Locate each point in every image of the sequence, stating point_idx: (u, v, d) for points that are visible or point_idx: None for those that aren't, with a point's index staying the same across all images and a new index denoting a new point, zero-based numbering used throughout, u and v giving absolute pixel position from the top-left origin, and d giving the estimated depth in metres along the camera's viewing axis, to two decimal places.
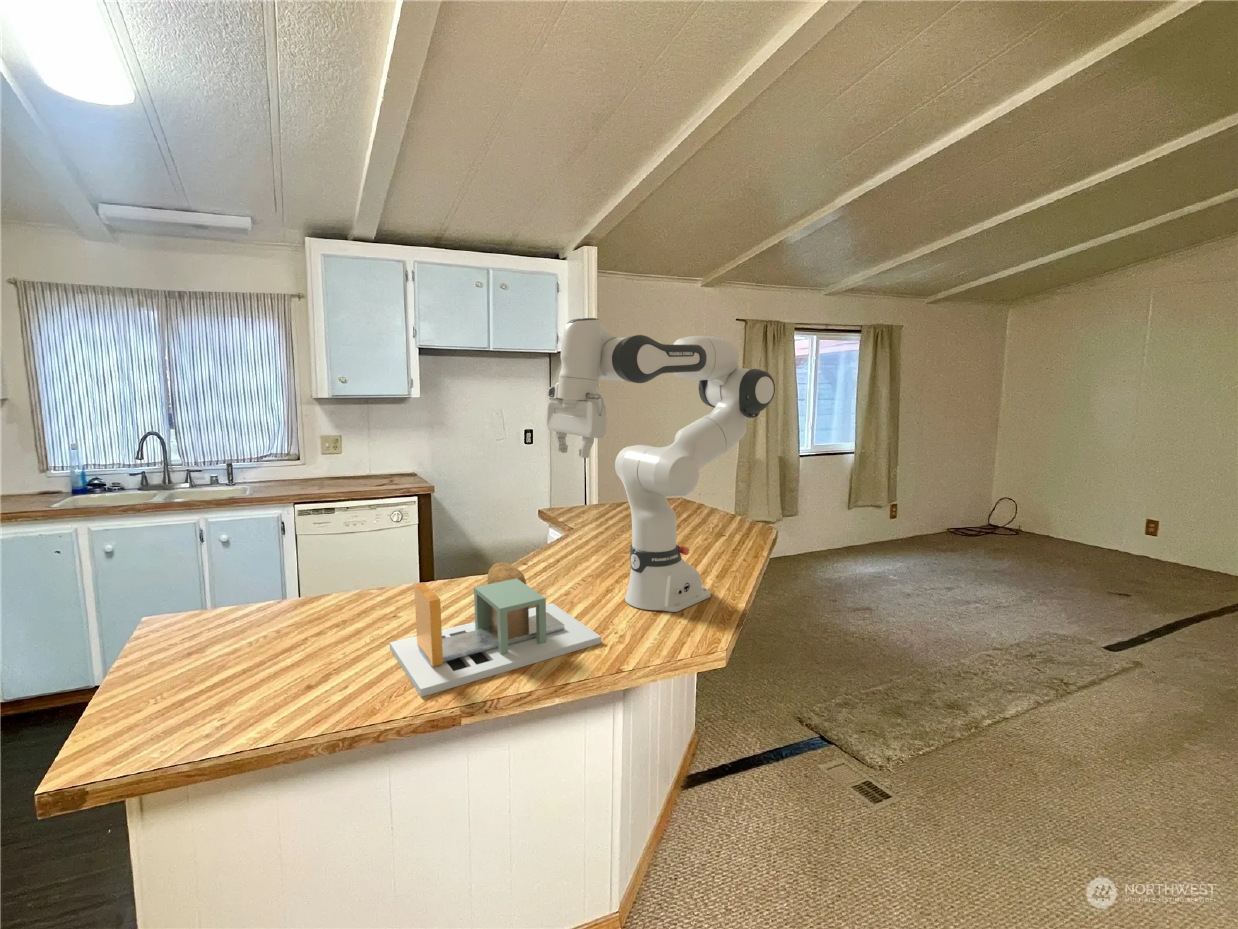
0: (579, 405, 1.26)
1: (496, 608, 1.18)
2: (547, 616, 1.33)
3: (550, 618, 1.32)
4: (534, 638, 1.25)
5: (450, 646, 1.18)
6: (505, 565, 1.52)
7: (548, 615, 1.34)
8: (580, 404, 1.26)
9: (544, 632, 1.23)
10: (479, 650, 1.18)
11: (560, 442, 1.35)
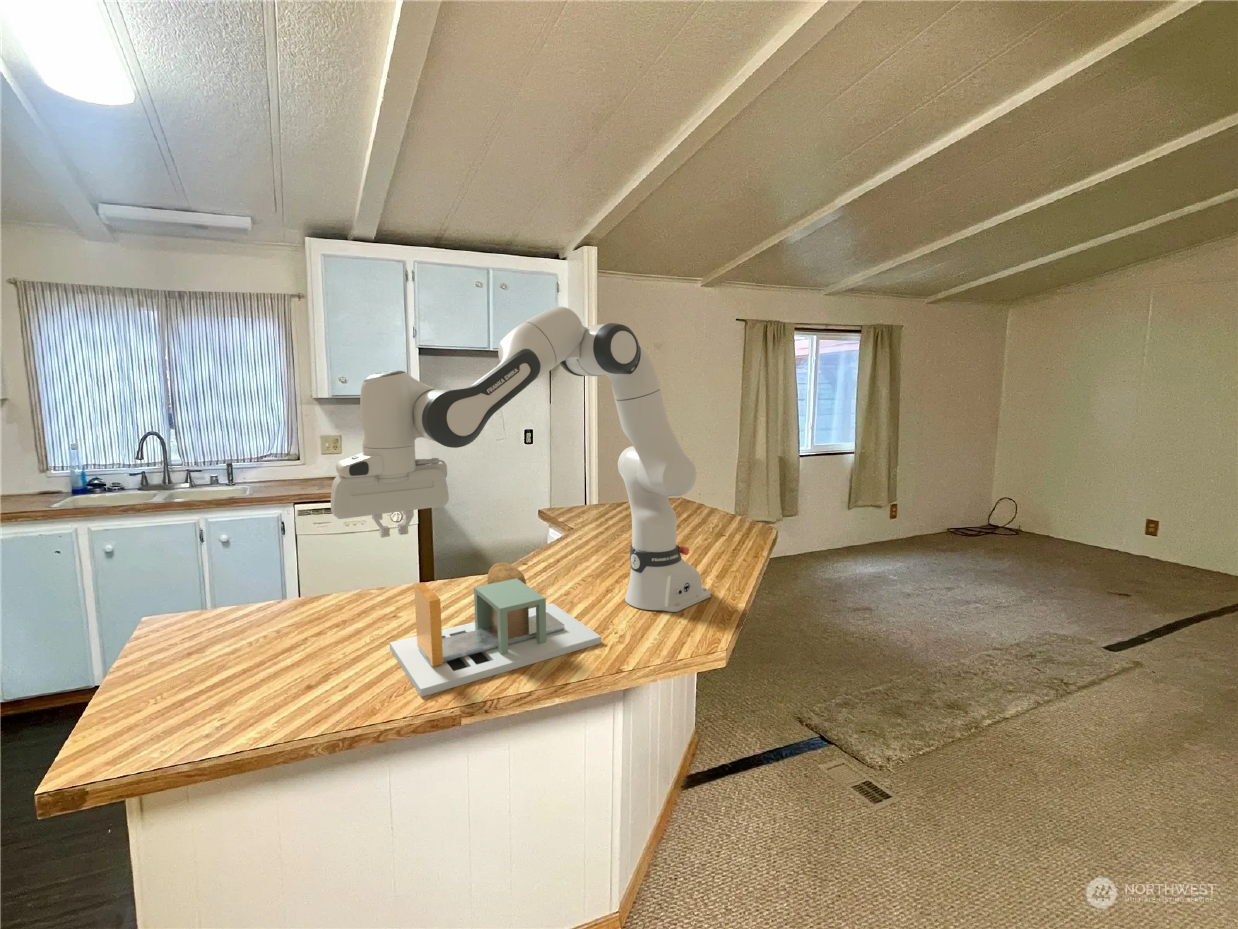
0: (417, 475, 1.09)
1: (496, 608, 1.18)
2: (547, 616, 1.33)
3: (550, 618, 1.32)
4: (534, 638, 1.25)
5: (450, 646, 1.18)
6: (505, 565, 1.52)
7: (548, 615, 1.34)
8: (418, 474, 1.09)
9: (544, 632, 1.23)
10: (479, 650, 1.18)
11: (382, 525, 1.08)
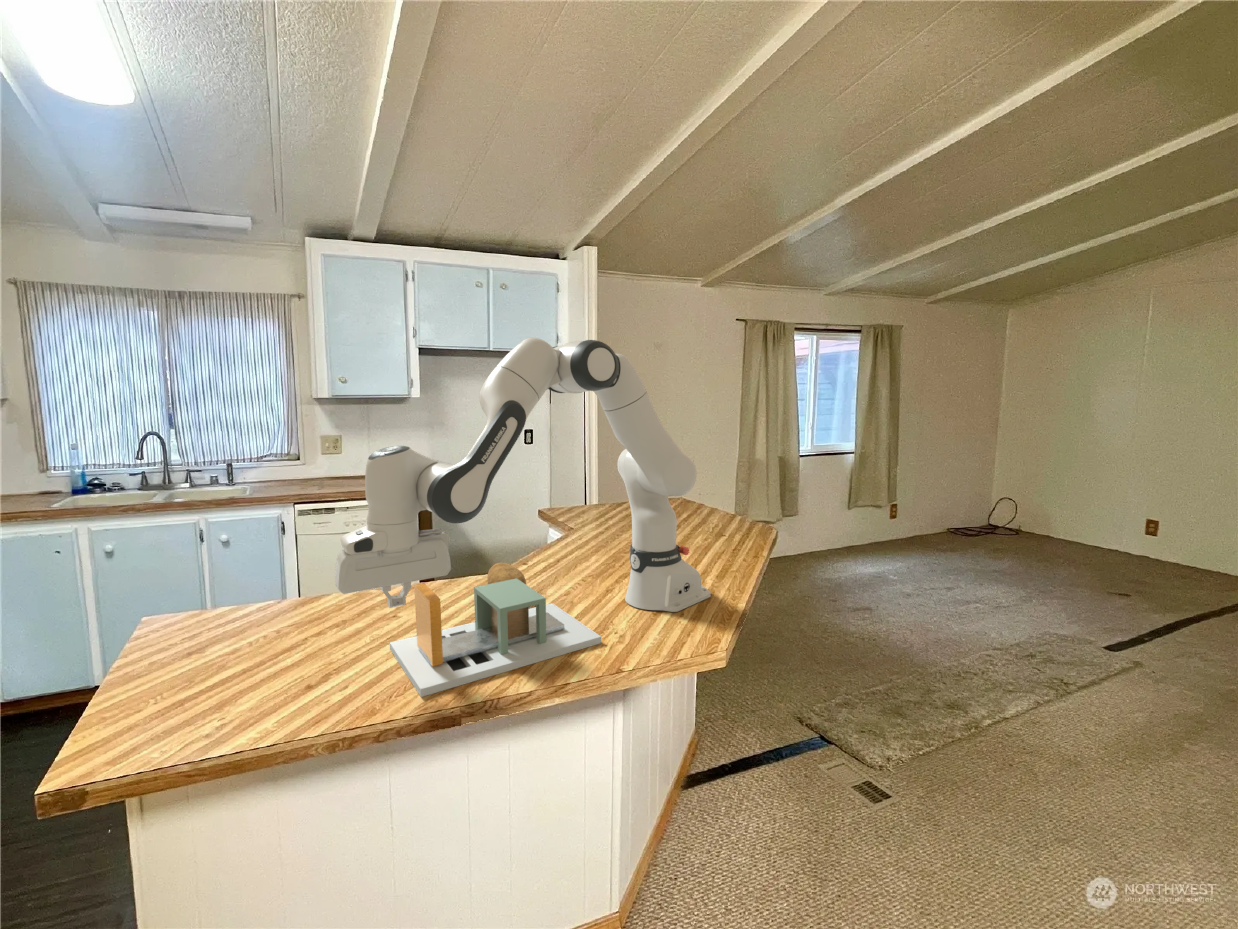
0: (420, 547, 1.11)
1: (496, 608, 1.18)
2: (547, 616, 1.33)
3: (550, 618, 1.32)
4: (534, 638, 1.25)
5: (450, 646, 1.18)
6: (505, 565, 1.52)
7: (548, 615, 1.34)
8: (421, 546, 1.11)
9: (544, 632, 1.23)
10: (479, 650, 1.18)
11: (391, 596, 1.10)
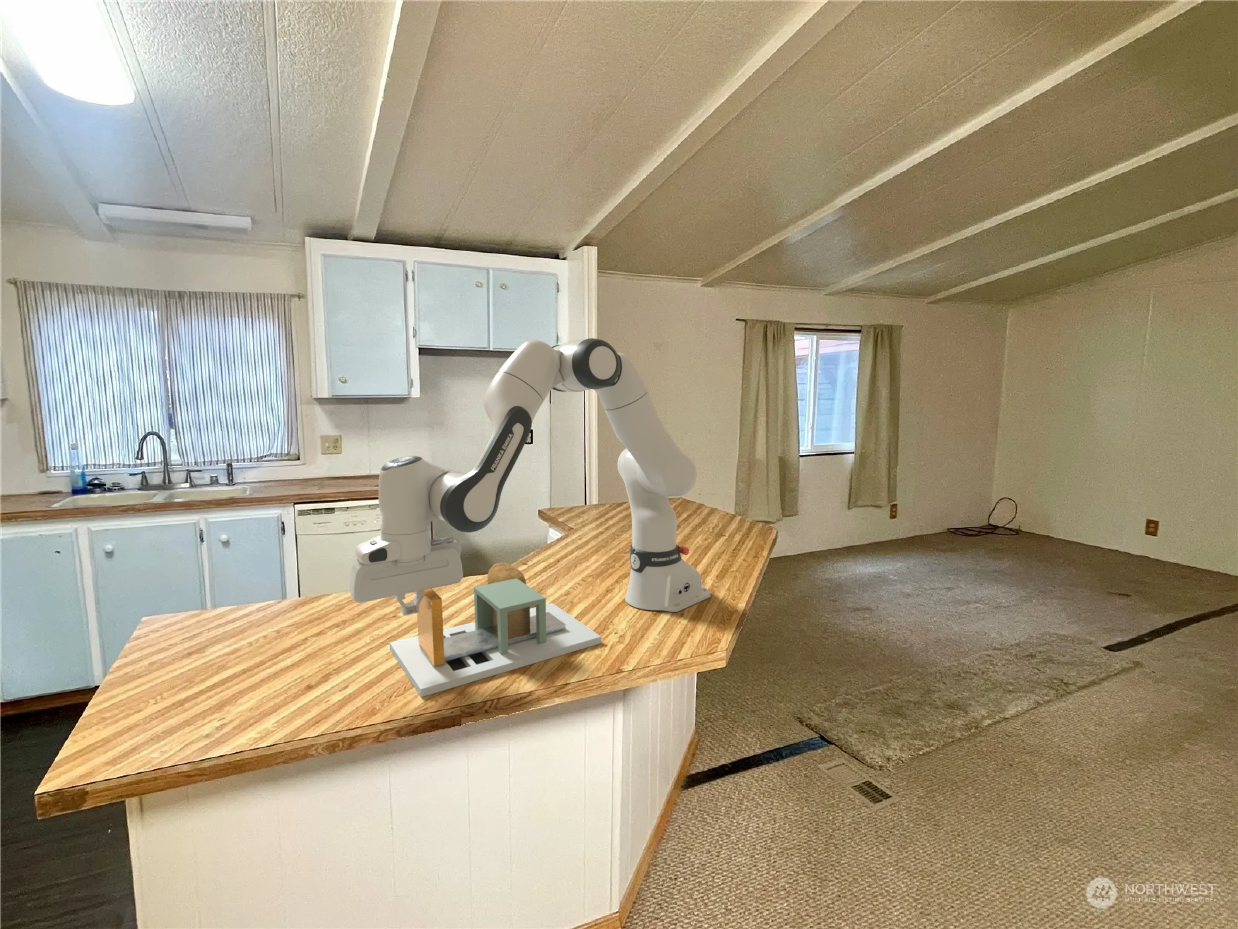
0: (433, 556, 1.12)
1: (496, 608, 1.18)
2: (548, 616, 1.33)
3: (551, 617, 1.32)
4: (534, 638, 1.25)
5: (452, 646, 1.18)
6: (505, 565, 1.52)
7: (549, 615, 1.34)
8: (434, 555, 1.13)
9: (544, 632, 1.23)
10: (480, 650, 1.18)
11: (405, 604, 1.12)
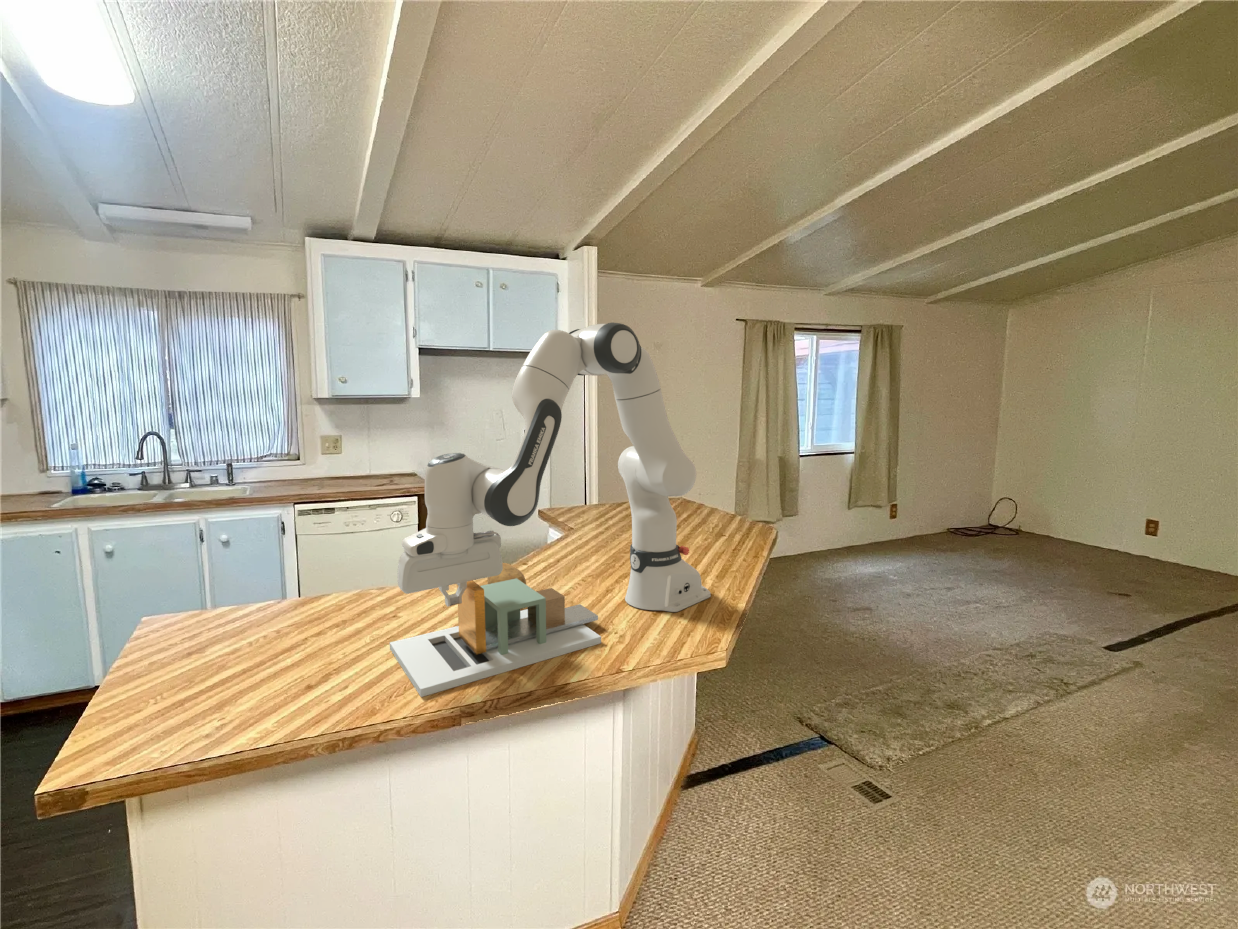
0: (475, 549, 1.17)
1: (496, 608, 1.18)
2: (580, 607, 1.38)
3: (583, 609, 1.37)
4: (534, 638, 1.25)
5: (491, 636, 1.23)
6: (505, 565, 1.52)
7: (581, 607, 1.38)
8: (476, 548, 1.17)
9: (544, 632, 1.23)
10: (519, 639, 1.23)
11: (448, 595, 1.17)
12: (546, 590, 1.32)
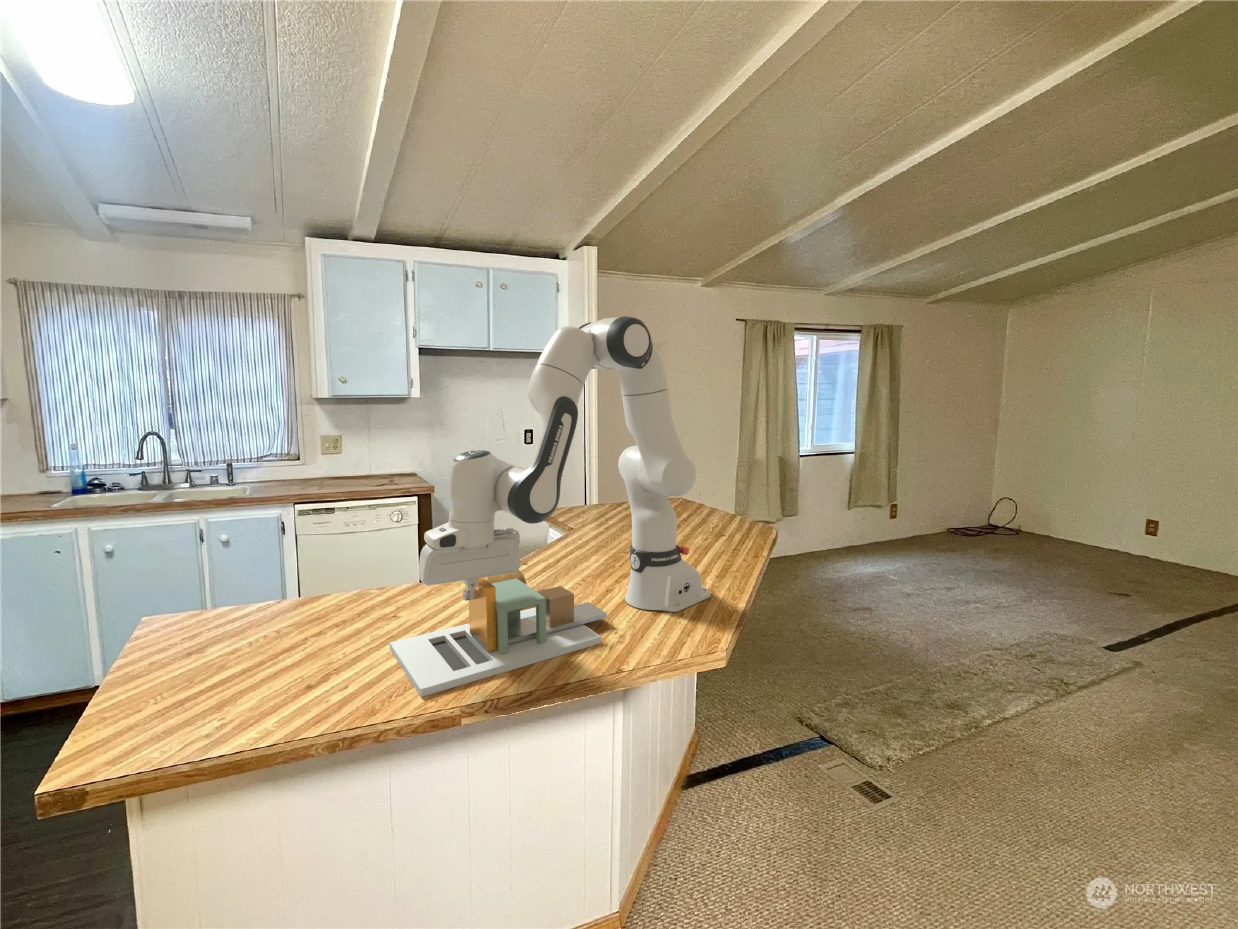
0: (495, 545, 1.19)
1: (496, 608, 1.18)
2: (589, 605, 1.39)
3: (592, 607, 1.38)
4: (534, 638, 1.25)
5: None
6: None
7: (590, 604, 1.40)
8: (496, 544, 1.20)
9: (544, 632, 1.23)
10: (529, 636, 1.24)
11: None
12: (555, 588, 1.34)
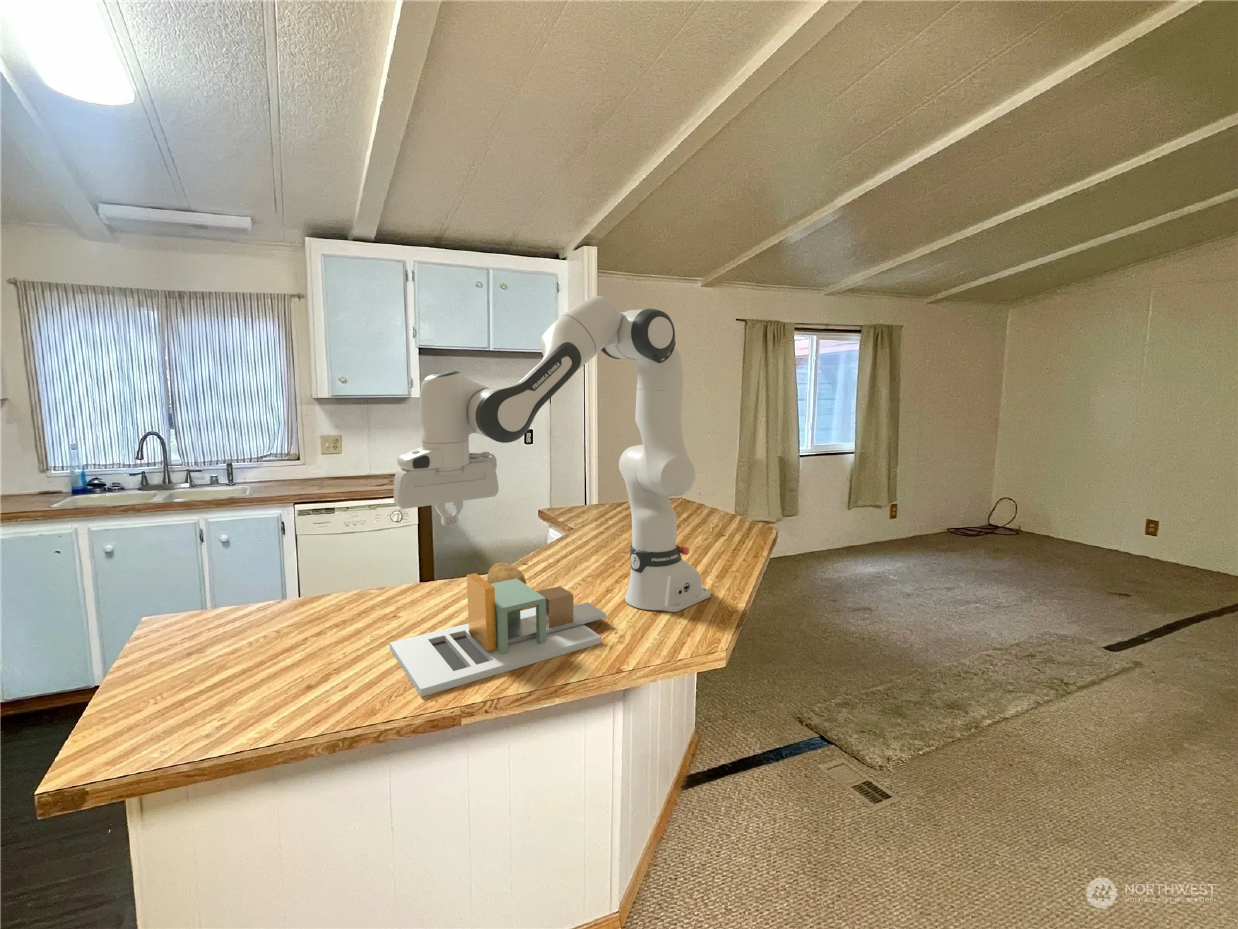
0: (471, 468, 1.17)
1: (496, 608, 1.18)
2: (588, 605, 1.39)
3: (591, 607, 1.38)
4: (534, 638, 1.25)
5: None
6: (505, 565, 1.52)
7: (589, 605, 1.40)
8: (472, 467, 1.18)
9: (544, 632, 1.23)
10: (528, 637, 1.24)
11: (445, 514, 1.17)
12: (555, 588, 1.34)
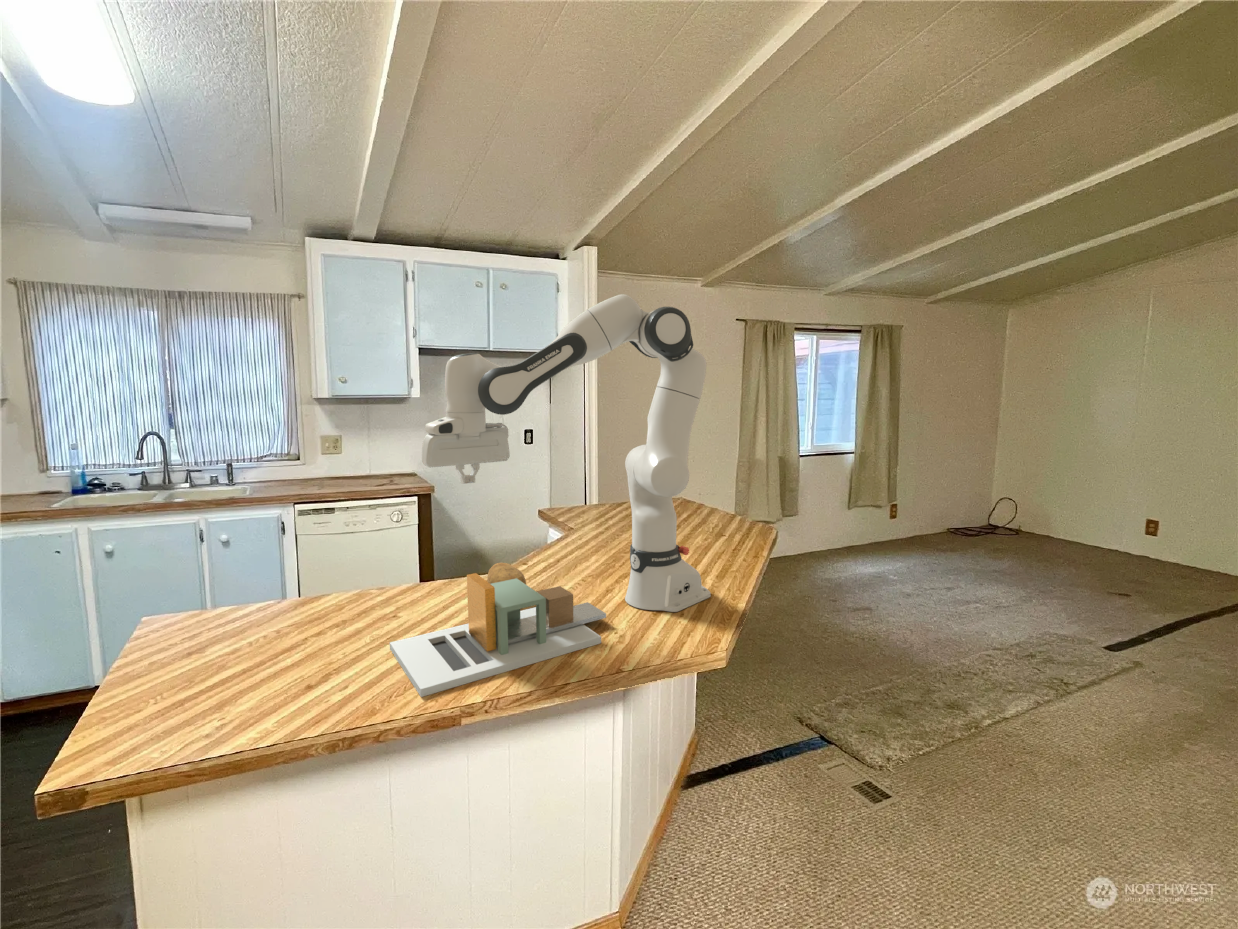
0: (487, 435, 1.39)
1: (496, 608, 1.18)
2: (588, 605, 1.39)
3: (591, 607, 1.38)
4: (534, 638, 1.25)
5: None
6: (505, 565, 1.52)
7: (589, 605, 1.40)
8: (487, 434, 1.39)
9: (544, 632, 1.23)
10: (528, 637, 1.24)
11: None
12: (555, 588, 1.34)
